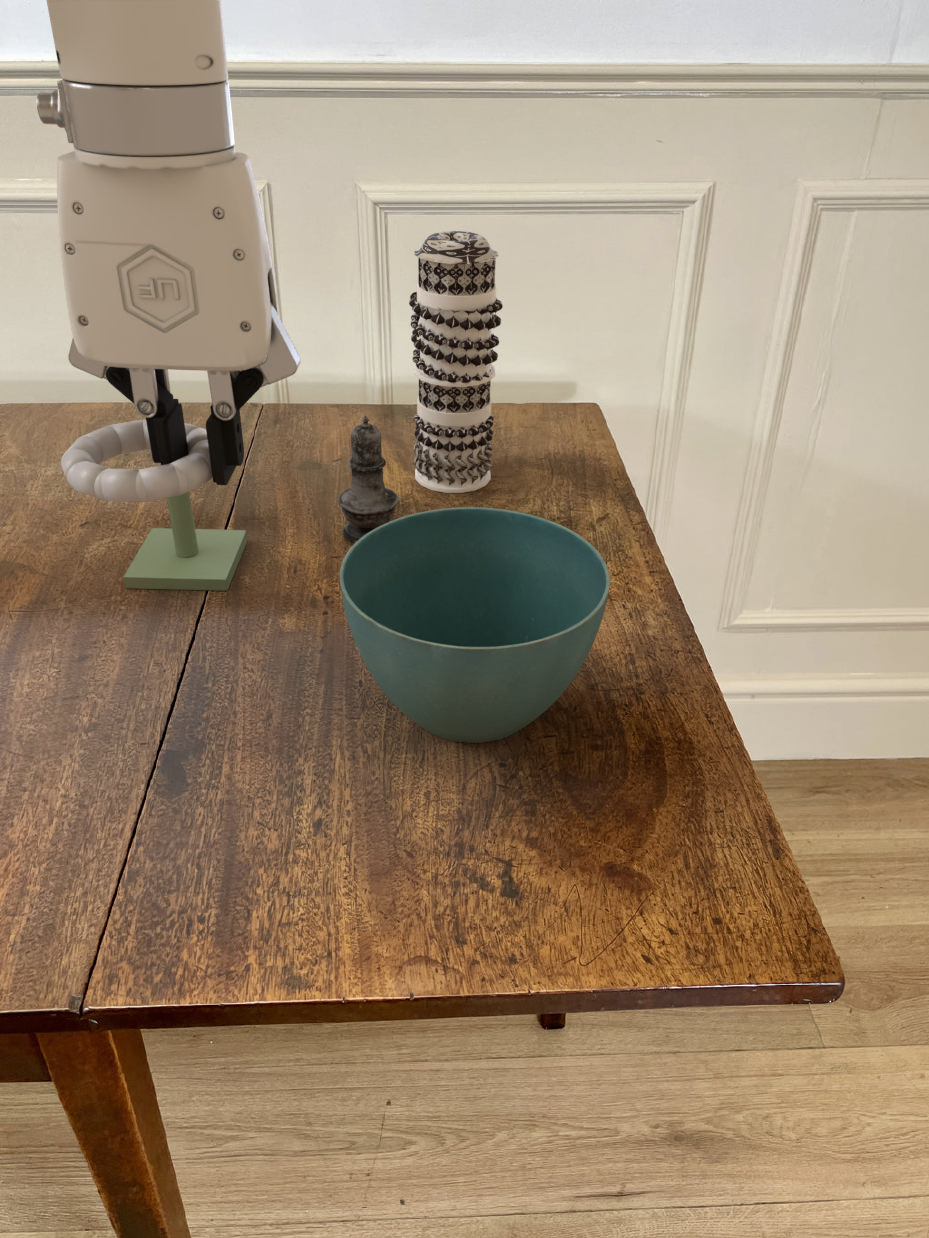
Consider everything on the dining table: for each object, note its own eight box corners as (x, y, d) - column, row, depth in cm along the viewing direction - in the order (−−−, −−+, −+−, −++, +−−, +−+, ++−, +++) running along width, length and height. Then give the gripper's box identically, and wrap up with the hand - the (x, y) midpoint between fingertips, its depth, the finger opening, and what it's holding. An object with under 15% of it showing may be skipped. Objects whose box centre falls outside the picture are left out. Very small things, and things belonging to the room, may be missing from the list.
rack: (125, 588, 83) (93, 438, 75) (154, 538, 91) (128, 397, 83) (227, 591, 83) (206, 441, 75) (247, 541, 91) (230, 399, 83)
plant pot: (526, 832, 60) (538, 681, 53) (297, 736, 67) (283, 592, 61) (627, 682, 74) (648, 546, 67) (428, 616, 81) (428, 486, 74)
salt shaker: (327, 534, 92) (319, 418, 85) (364, 512, 96) (360, 399, 89) (374, 552, 89) (370, 433, 83) (411, 528, 94) (410, 413, 87)
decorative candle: (467, 502, 98) (474, 253, 84) (394, 480, 102) (389, 238, 88) (509, 471, 105) (523, 234, 91) (440, 452, 109) (442, 222, 95)
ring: (42, 504, 52) (34, 475, 51) (96, 440, 59) (91, 413, 58) (202, 510, 52) (197, 480, 51) (236, 445, 59) (233, 417, 58)
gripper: (-52, 128, 42) (41, 499, 52) (307, 141, 42) (328, 509, 52) (17, 109, 48) (88, 444, 59) (330, 120, 48) (345, 453, 59)
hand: (201, 472), depth 55 cm, fingers closed on ring, 2 cm apart
